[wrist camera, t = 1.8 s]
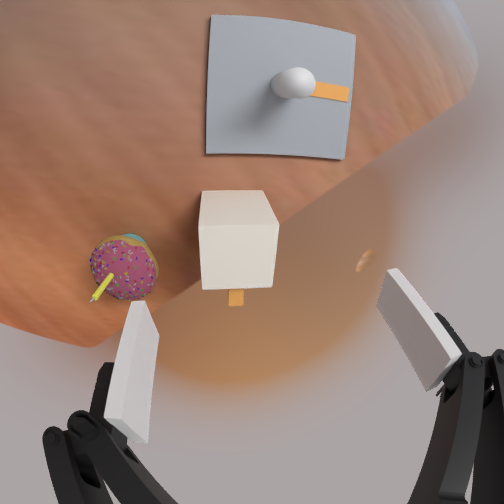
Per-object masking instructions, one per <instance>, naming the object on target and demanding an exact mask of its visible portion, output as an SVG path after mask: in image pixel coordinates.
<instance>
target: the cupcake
mask: <svg viewBox="0 0 504 504" xmlns="http://www.w3.org/2000/svg"><path fill="white" fill-rule="evenodd" d="M90 258H91V259H90V264H91V265H90V266H91V269H92V273H93V275H94V279H95V280H96V281H97V282H96V283H97V284H98V286H99V287H98V289H97V290H96V291H95V293H94V294H93V295H92V299H91V300H90V301H89V302H92V301H93V300H97V299H98V298H99V297H100V295H101V294H102V292H103V291H106V292H107V293H109V294H110V295H112V296H113V297H116V298H117V299H119V298H120V299H124V300H127V301H128V300H130V301H131V300H132V299H137V298H138V299H139V298H141V297H144V296H145V295H147V294H148V293H150V291H151V290H152V289H153V287H154V285H155V283H156V280H157V278H158V275H159V265H158V262H157V260H156V258H155V256H154V255H153V253H152V252H151V250H150V249H149V247H148V246H147V244H146V242H145V241H144V240H143V239H142V238H141V237H139V236H137V235H135V234H124V235H113V236H110V237H108V238H106V239H104V240H102V241H101V242H100V243H99V244H98V246H97V247H96V248H95V250H94V251H93V253H92V254H91V256H90Z"/></svg>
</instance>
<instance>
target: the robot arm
mask: <svg viewBox="0 0 504 504" xmlns="http://www.w3.org/2000/svg"><path fill="white" fill-rule="evenodd" d="M377 308H378V309H379V311H380V312H381V314H382V315H383V317H384V319H385V320H386V322H387V324H388V325H389V327H390V328H391V330H392V332H393V333H394V335H395V337H396V338H397V340H398V342H399V344H400V345H401V347H402V349H403V350H404V352H405V354H406V356H407V357H408V359H409V360H410V362H411V364H412V366H413V368H414V370H415V372H416V373H417V375H418V377H419V379H420V381H421V383H422V385H423V386H424V388H425V390H426V391H429V390H431V389H433V388H435V387H437V386H438V384H439V383H440V382H441V381H442V380H443V382H444V385H443V386H442V387H441V388H440V390H439V391H438V392H437V394H436V396H438V395H439V394H440V393H441V396H440V397H441V398H440V403H439V408H438V412H437V417H436V421H435V426H434V430H433V433H432V437H431V441H430V444H429V447H428V451H427V454H426V457H425V460H424V463H423V466H422V469H421V472H420V475H419V477H418V480H417V482H416V485H415V487H414V490H413V492H412V495H411V497H410V500H409V502H408V503H407V504H468V502H467V501H466V500H465V497H464V496H465V492H466V489H467V486H468V482H469V479H470V475H471V471H472V467H473V463H474V471H473V484H472V494H471V502H470V504H504V350H502V349H497V350H496V351H495V352H494V353H493V355H492V356H487V357H481V356H480V355H479V354H477V353H476V352H469V351H468V349H467V348H466V346H465V345H464V343H463V342H462V341H461V339H460V338H459V336H458V335H457V334H456V332H454V329H453V328H452V327H451V326H450V324H449V323H448V321H447V320H446V319H445V318H444V317H443V316H442V315H440V314H439V313H433V312H432V311H431V310H430V308H429V307H428V306H427V304H426V303H425V302H424V300H423V299H422V298H421V297H420V295H419V294H418V293H417V292H416V290H415V289H414V288H413V287H412V285H411V284H410V283H409V282H408V281H407V279H406V278H405V277H404V276H403V274H402V273H401V272H400V271H399V270H398V269H397V268H395V269H390V270H387V271H386V275H385V278H384V282H383V285H382V289H381V292H380V296H379V299H378V302H377ZM158 341H159V334H158V332H157V329H156V327H155V324H154V322H153V320H152V317H151V315H150V312H149V310H148V307H147V305H146V302H145V300H144V301H132V302H131V305H130V308H129V312H128V315H127V318H126V322H125V325H124V329H123V333H122V336H121V340H120V344H119V348H118V352H117V356H116V360H115V363H112V362H105V363H104V364H103V366H102V367H101V369H100V370H99V373H98V377H97V382H96V385H95V390H94V393H93V398H92V402H91V407H90V412H89V413H88V412H86V411H84V410H79V411H76V412H74V413H73V414H72V415H71V416H70V418H69V419H68V423H67V427H68V430H66V431H62V430H61V429H60V428H57V427H55V426H53V427H49V428H47V429H46V430H45V432H44V434H43V446H44V451H45V456H46V461H47V465H48V469H49V473H50V477H51V480H52V484H53V487H54V490H55V494H56V497H57V500H58V503H59V504H113V502H112V500H111V498H110V495H109V493H108V491H107V488H106V486H105V483H104V481H105V482H106V484H107V485H108V487H109V488H110V490H111V491H112V492H113V494H114V495H115V497H116V498H117V499H118V501H119V502H120V503H121V504H178V503H177V502H176V501H175V500H174V499H173V498H172V497H171V496H170V495H169V494H168V493H167V492H166V491H165V490H164V489H163V488H162V486H161V485H160V484H159V483H158V482H157V481H156V480H155V479H154V478H153V476H152V475H151V474H150V473H149V472H148V470H147V469H146V468H145V467H144V466H143V464H142V463H141V462H140V460H139V459H138V458H137V457H136V455H135V454H134V453H133V451H132V450H131V449H130V447H129V446H128V445H127V438H128V439H129V440H131V441H132V442H139V443H148V433H149V421H150V409H151V398H152V388H153V379H154V371H155V363H156V355H157V348H158ZM492 385H493V386H494V390H493V391H492V388H491V386H492ZM103 479H104V481H103Z"/></svg>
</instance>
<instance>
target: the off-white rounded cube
mask: <svg viewBox="0 0 504 504" xmlns="http://www.w3.org/2000/svg"><path fill="white" fill-rule="evenodd" d="M198 229H199V248H200V264H201V279H202V289H203V290H206V289H228V302H229V306H243V300H244V299H243V298H244V288H262V287H272V284H273V276H274V266H275V258H276V249H277V240H278V232H279V223H278V221H277V219H276V217H275V215H274V213H273V211H272V209H271V206H270V204H269V202H268V200H267V198H266V196H265V194H264V192H263V190H219V191H202V196H201V205H200V215H199V225H198Z"/></svg>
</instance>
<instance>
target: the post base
mask: <svg viewBox="0 0 504 504" xmlns="http://www.w3.org/2000/svg"><path fill="white" fill-rule="evenodd" d="M355 41H356V35H354V34H350V33H346V32H343V31H339V30H335V29H331V28H327V27H322V26H318V25H313V24H307V23H302V22H296V21H290V20H283V19H275V18H266V17H255V16H238V15H211V28H210V43H209V61H208V84H207V118H206V154H209V153H248V154H278V155H296V156H310V157H322V158H332V159H342V160H344V157H345V150H346V142H347V135H348V127H349V118H350V109H351V99H352V88H353V76H354V61H355Z"/></svg>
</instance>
